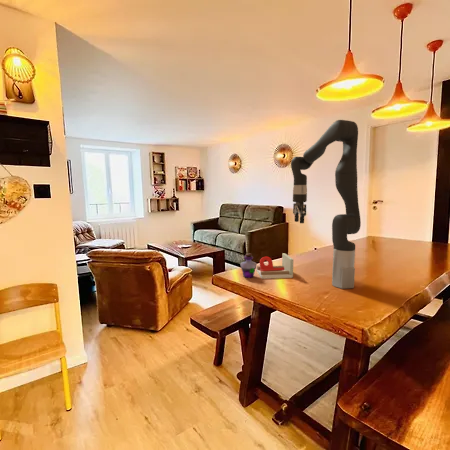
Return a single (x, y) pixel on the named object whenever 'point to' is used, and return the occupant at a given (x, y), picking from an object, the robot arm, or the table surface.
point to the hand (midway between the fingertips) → (299, 222)
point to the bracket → (269, 266)
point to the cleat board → (287, 273)
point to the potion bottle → (248, 266)
